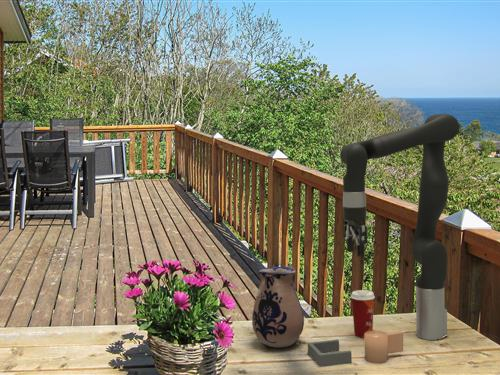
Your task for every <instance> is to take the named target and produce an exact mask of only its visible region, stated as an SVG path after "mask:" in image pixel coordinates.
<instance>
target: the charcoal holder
mask: <svg viewBox="0 0 500 375" xmlns="http://www.w3.org/2000/svg"><path fill="white" fill-rule="evenodd" d="M307 354H308V355H309V357H311V359H312V360H313V361H314V362H315V363H316V364H317V365H318V366H319V367H320V368H322V367H329V366H337V365H344V364H352V362H353V361H352V360H353V359H352V356H353V355H352V351H351V349H350V350H343V351H342V350H341V351H340V340H339V339H330V340H321V341H314V342H307Z"/></svg>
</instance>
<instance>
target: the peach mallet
mask: <svg viewBox="0 0 500 375" xmlns="http://www.w3.org/2000/svg"><path fill="white" fill-rule="evenodd" d="M403 352H404V332H403V331H402V330H401V331H393V332H392V331H391V332H385V331H382V330H376V329H375V330H374V329H373V331H367V332H365V338H364V360H365V362H367V363H370V364H375V365H379V364H386V363H387V362H388V361H389V355H390V354H396V353H403Z"/></svg>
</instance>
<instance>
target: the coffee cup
mask: <svg viewBox="0 0 500 375" xmlns="http://www.w3.org/2000/svg"><path fill="white" fill-rule="evenodd" d="M350 298H351V306H352V317H353V318H352V319H353V329H354V330H353V331H354V336H355V338H359V339H365V332H367V331H373V330H374V329H373V328H374V326H373V325H374V306H375V304H374V303H375V294H374V292H373V291H372V290H366V289H365V290H364V289H359V290H353V291H352V293H351V295H350Z"/></svg>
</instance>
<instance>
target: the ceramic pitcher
mask: <svg viewBox="0 0 500 375" xmlns="http://www.w3.org/2000/svg"><path fill="white" fill-rule="evenodd" d="M257 272H258V274H259V277H260V278H259V279H260V282H259V286H258V290H257V293H256V296H255V297H256V298H255V300H254V304H253V310H252V316H251V323H252V324H251V325H252V329H253V332H254V335H255V336H256V338H257V339H258V340H259V341H260V342H261V343H262V344H264V345H266V346H267V347H270V348H277V349H278V348H281V349H282V348H288V347H291V346H292V345H293V344H294V343H296V342H297V341H298V340H299V338H300V336H301V335H302V333H303V330H304V327H305V317H304V312H303V308H302V304H301V302H300V299H299V297H298V293H297V291H296V290H297V274H296V273H297V271H296V269H295V268H294V266H292V265H285V266H270V267H265V268H261V269H259V270H258V271H257Z"/></svg>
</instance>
